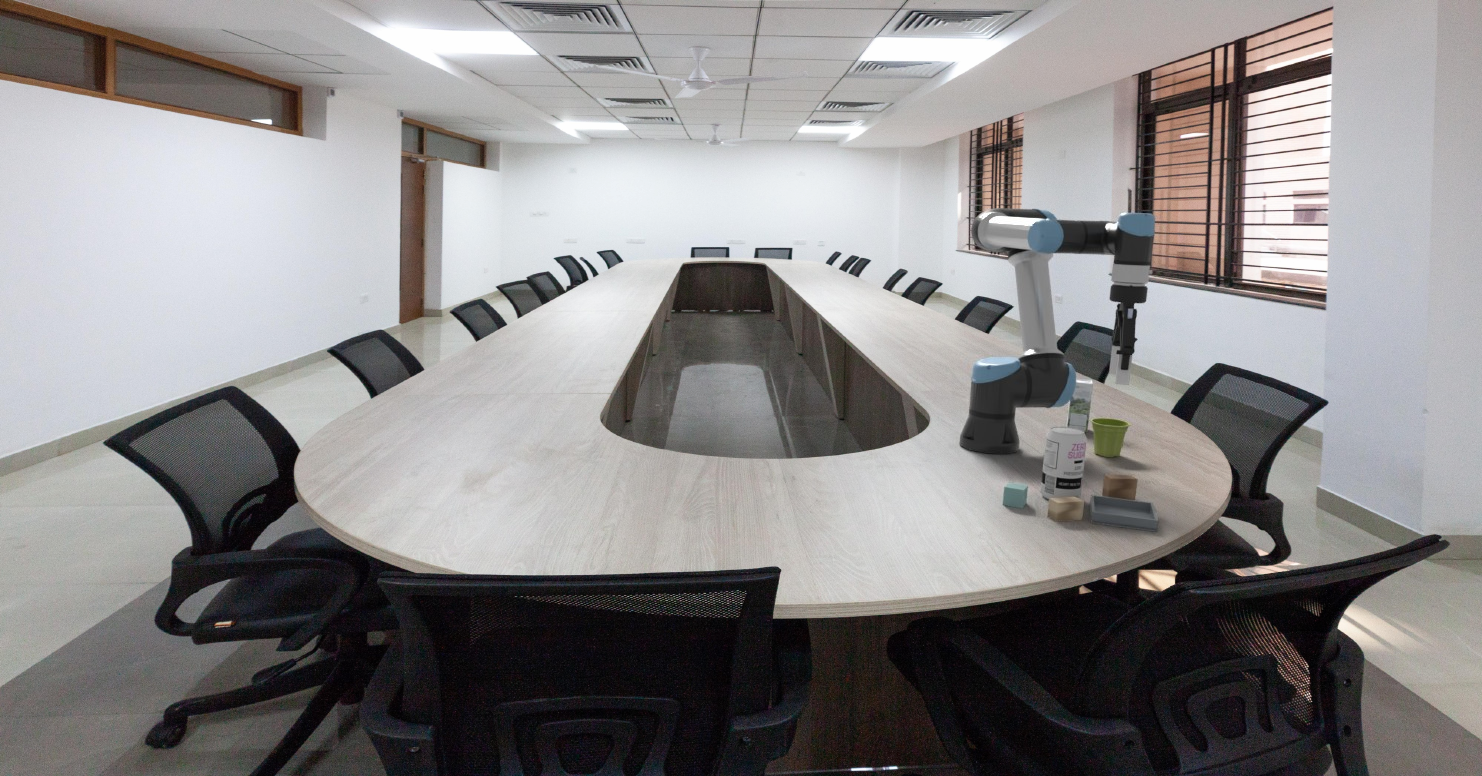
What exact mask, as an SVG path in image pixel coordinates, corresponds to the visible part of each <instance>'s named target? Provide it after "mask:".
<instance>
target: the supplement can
mask: <svg viewBox="0 0 1482 776" xmlns="http://www.w3.org/2000/svg"><path fill="white" fill-rule="evenodd" d="M1087 441H1088V438H1087V436H1086V434H1085V432H1084V431H1083V430H1080V429H1077V428H1072V427H1067V426H1058V425H1056V426H1052V427H1050V428H1049V430H1048V432H1047V434H1046V436H1045V445H1044V453H1043V462H1042V463H1043V464H1042V475H1041V481H1040V482H1041V484H1040V491H1039V492H1040V494H1041V495H1042V496H1043V498H1045V499H1047V500H1049V498H1060V497H1077V498H1079V499H1081V495H1082V486H1083V477H1084V469H1085V461H1086V459H1085V458H1086V452H1087Z"/></svg>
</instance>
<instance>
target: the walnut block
mask: <svg viewBox="0 0 1482 776" xmlns="http://www.w3.org/2000/svg"><path fill="white" fill-rule="evenodd" d="M1138 479H1139V478H1137V477H1136V476H1134V475H1132V474H1111V473H1110V474H1104V477H1103V484H1102V492H1101V496H1104V497H1112V498H1120V499H1128V500H1136V495H1137V488H1138V481H1139V480H1138Z"/></svg>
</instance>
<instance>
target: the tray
mask: <svg viewBox="0 0 1482 776" xmlns="http://www.w3.org/2000/svg"><path fill="white" fill-rule="evenodd" d="M1089 500H1090V501H1089V511H1090V512H1089V513H1090V523H1091V524H1095V525H1101V526H1103V525H1104V526H1110V527H1116V528H1117V527H1119V528H1126V529H1133V530H1141V531H1146V532H1147V531H1149V532H1154V533H1155V532H1156V533H1157V531H1158V524H1159V519H1158V515H1157V512H1156V509H1155V506H1154V502H1149V501H1143V500H1136V499H1135V500H1128V499H1120V498H1112V497H1104V496H1102V495H1094V494H1090V499H1089Z"/></svg>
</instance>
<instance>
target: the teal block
mask: <svg viewBox="0 0 1482 776" xmlns="http://www.w3.org/2000/svg"><path fill="white" fill-rule="evenodd" d="M1028 492H1029V485H1028V484H1022V483H1021V484H1020V483H1014V482H1008V483H1006V484H1005V486H1004V488H1003V497H1002V505H1003V506H1009V507H1013V508H1018V509H1023V508H1024V507H1025V506H1026V505H1027V501H1028V500H1027V499H1028Z"/></svg>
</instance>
